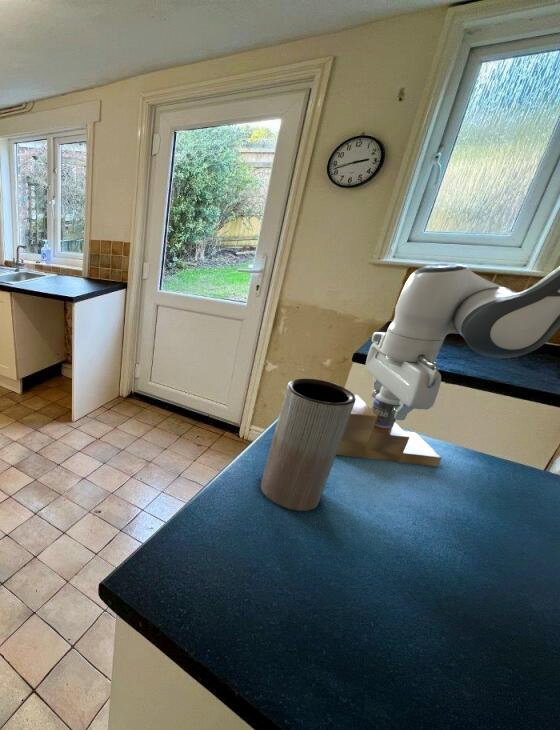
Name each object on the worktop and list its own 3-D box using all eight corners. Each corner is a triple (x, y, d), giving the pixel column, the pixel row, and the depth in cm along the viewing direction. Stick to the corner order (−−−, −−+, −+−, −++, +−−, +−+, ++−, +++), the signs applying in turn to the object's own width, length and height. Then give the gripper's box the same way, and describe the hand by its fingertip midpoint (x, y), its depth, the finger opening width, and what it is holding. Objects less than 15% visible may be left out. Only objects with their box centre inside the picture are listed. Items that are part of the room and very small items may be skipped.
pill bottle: (361, 419, 92) (373, 385, 88) (377, 416, 93) (390, 382, 90) (382, 430, 88) (396, 395, 84) (398, 426, 89) (413, 392, 86)
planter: (308, 483, 83) (342, 381, 73) (325, 517, 74) (367, 407, 65) (255, 475, 85) (281, 375, 76) (265, 508, 77) (296, 400, 67)
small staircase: (410, 443, 96) (429, 401, 91) (436, 469, 87) (458, 424, 82) (310, 432, 100) (323, 391, 96) (325, 455, 92) (340, 412, 87)
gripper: (462, 368, 73) (431, 434, 79) (402, 332, 91) (381, 388, 97) (420, 365, 75) (393, 431, 80) (369, 330, 92) (350, 386, 98)
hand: (386, 407), depth 89 cm, fingers open, 8 cm apart
